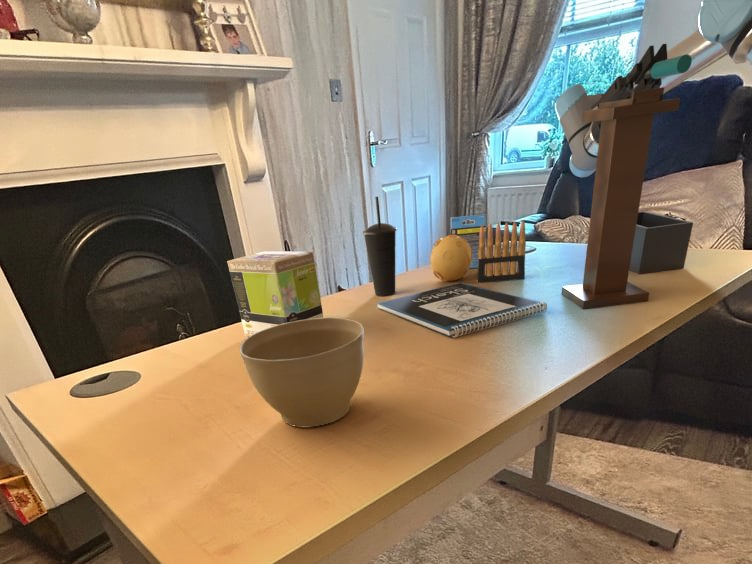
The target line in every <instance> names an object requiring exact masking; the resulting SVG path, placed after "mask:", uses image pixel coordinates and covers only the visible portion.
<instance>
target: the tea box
mask: <svg viewBox="0 0 752 564" xmlns="http://www.w3.org/2000/svg"><path fill="white" fill-rule="evenodd" d="M226 263H227V266H228V270H229V276H230V278H231V283H232V287H233V291H234V296H235V299H236V304H237V307H238V312H239V315H240V319H241V324H242V327H243V328H242V329H243V331H244V335H245V334H249V335H253V334H255V333H257V332H259V331H262V330H264V329H267V328H270V327H273V326H276V325H280V324H284V323H288V322H293V321H299V320H305V319H313V318H325V316H324V312H323V305H322V299H321V294H320V285H319V281H318V275H317V267H316V262H315V256H314V252H313V251H311V250H309V251H296V250H295V251H293V250H291V251H288V250H285V251H283V250H278V251H277V250H275V251H273V250H271V251H270V250H269V251H267V250H266V251H260V252H257V253H252V254H248V255H245V256H241V257H238V258H233V259H230V260H227V261H226Z"/></svg>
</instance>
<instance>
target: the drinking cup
mask: <svg viewBox="0 0 752 564" xmlns="http://www.w3.org/2000/svg"><path fill="white" fill-rule="evenodd" d="M374 199H375V209H376V210H375V211H376V220H377V223H375V224H372V225H370V226H369V227H367V228H366V229H365V230H363V231H362V235H363V236H364V241H365V245H366V251H367V256H368V262H369V267H370V272H371V278H372V283H373V289H374V294H375V296H377V297H388V296H392V295H395V294H396V291H397V288H396V287H397V286H396V285H397V282H396V281H397V280H396V277H397V276H396V275H397V272H396V271H397V270H396V267H397V264H396V263H397V261H396V257H397V254H396V253H397V240H396V239H397V236H396V235H397V231H398V228H397V227H396V226H394V225H392V224H389V223H384V222H381V210H380V199H379V196H375V197H374Z"/></svg>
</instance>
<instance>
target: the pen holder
mask: <svg viewBox="0 0 752 564" xmlns="http://www.w3.org/2000/svg"><path fill="white" fill-rule="evenodd" d="M693 225H694V222H693V221H689V220H686V219H685V220H684V219H682V218H681V219H680V218H677V217H671V216H668V215H663V214H658V213H654V212H651V211H645V210H643V211H638V218H637V224H636V230H635V236H634V243H633V249H632V255H631V262H630V268H629V271H631V272H633V273H635V274H638V275H643V274H649V273H650V274H651V273H658V272H665V271H666V272H667V271H673V270H680V269H681V270H682V269H685V263H686V260H687V254H688V250H689V245H690V241H691V236H692V230H693Z"/></svg>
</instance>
